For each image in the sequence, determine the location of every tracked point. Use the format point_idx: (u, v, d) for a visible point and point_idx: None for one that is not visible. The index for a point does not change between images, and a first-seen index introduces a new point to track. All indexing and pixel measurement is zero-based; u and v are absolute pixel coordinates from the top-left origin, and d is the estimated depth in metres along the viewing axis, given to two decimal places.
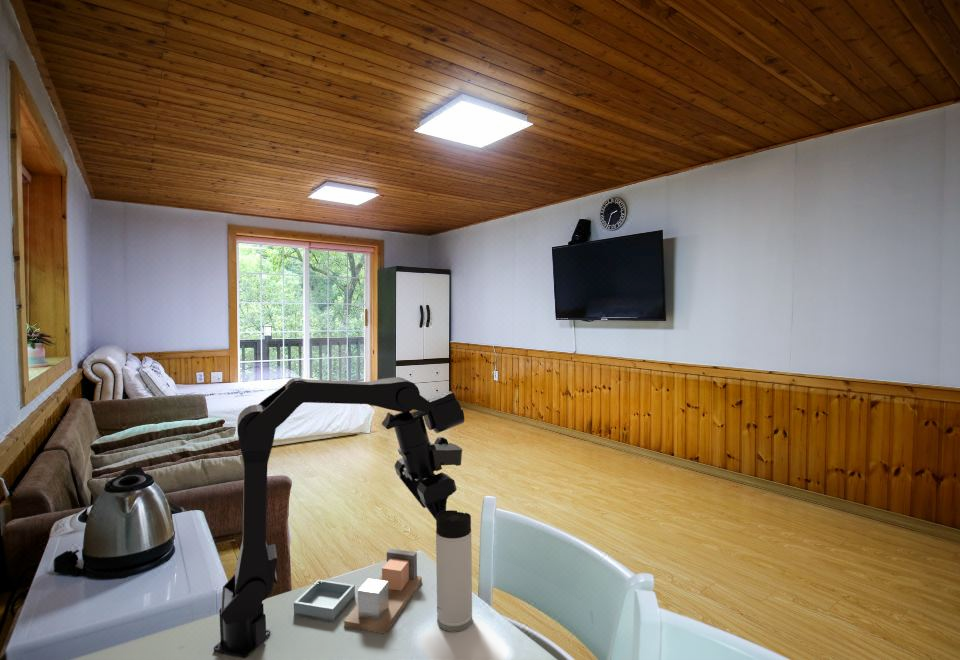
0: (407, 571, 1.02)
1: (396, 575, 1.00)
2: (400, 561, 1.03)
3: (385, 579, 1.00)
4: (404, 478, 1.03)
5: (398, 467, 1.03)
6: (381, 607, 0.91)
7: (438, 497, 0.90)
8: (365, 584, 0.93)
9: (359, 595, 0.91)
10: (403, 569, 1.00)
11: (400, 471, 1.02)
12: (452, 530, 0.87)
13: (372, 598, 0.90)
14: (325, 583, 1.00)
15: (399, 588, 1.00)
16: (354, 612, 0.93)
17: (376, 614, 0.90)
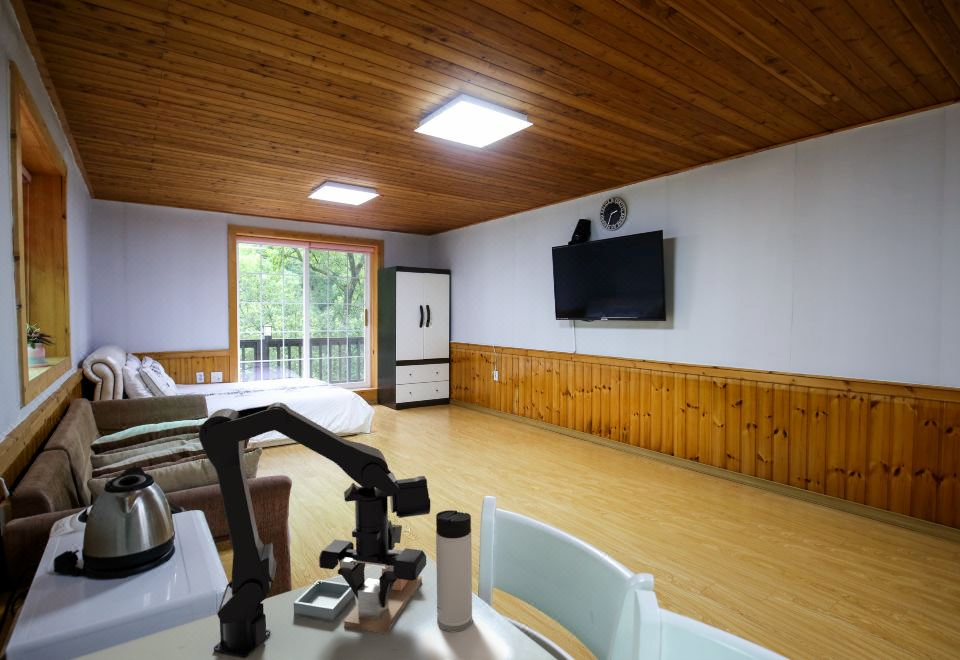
0: None
1: None
2: None
3: None
4: (348, 571, 0.91)
5: (332, 557, 0.91)
6: (381, 607, 0.91)
7: (419, 571, 0.89)
8: (365, 584, 0.93)
9: (359, 595, 0.91)
10: None
11: (337, 561, 0.91)
12: (452, 530, 0.87)
13: (372, 598, 0.90)
14: (325, 583, 1.00)
15: (399, 588, 1.00)
16: (354, 612, 0.93)
17: (376, 614, 0.90)
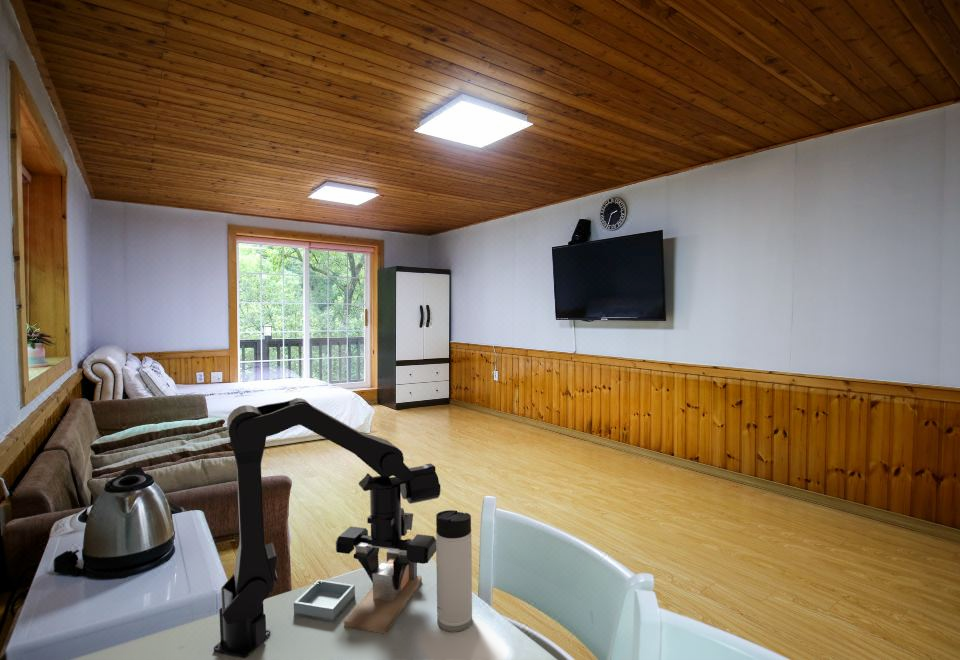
0: (407, 571, 1.02)
1: None
2: None
3: None
4: (364, 555, 0.96)
5: (348, 542, 0.96)
6: (394, 589, 0.97)
7: (431, 555, 0.95)
8: (379, 568, 0.98)
9: (374, 578, 0.96)
10: None
11: (353, 546, 0.96)
12: (452, 530, 0.87)
13: (386, 581, 0.96)
14: (325, 583, 1.00)
15: None
16: (354, 612, 0.93)
17: (390, 596, 0.96)
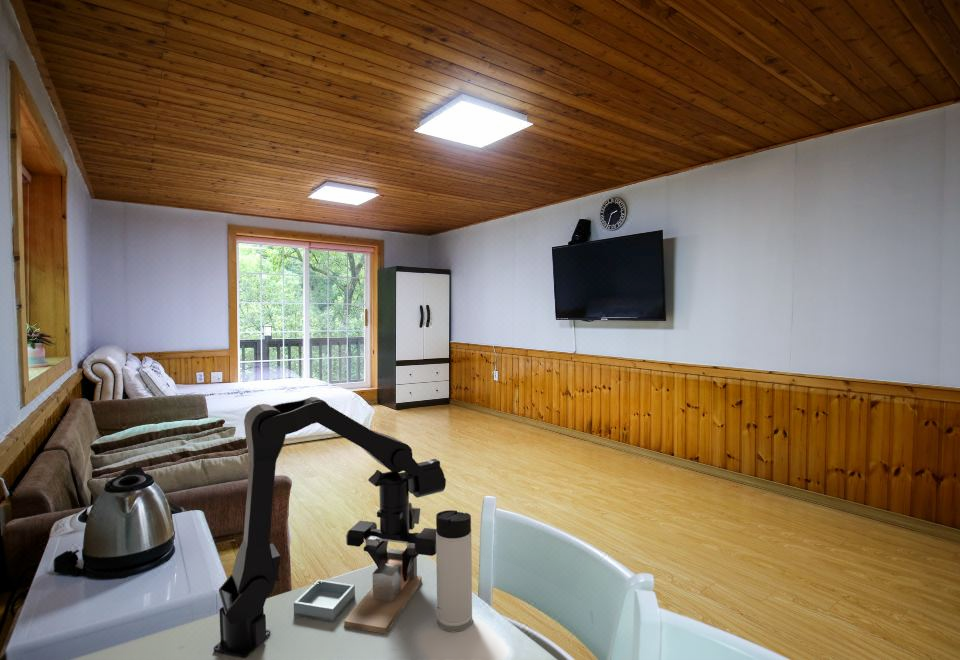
0: None
1: None
2: (400, 561, 1.03)
3: None
4: (373, 548, 1.00)
5: (358, 535, 1.00)
6: (394, 589, 0.97)
7: None
8: (379, 568, 0.98)
9: (374, 578, 0.96)
10: None
11: (363, 539, 1.00)
12: (452, 530, 0.87)
13: (386, 581, 0.96)
14: (325, 583, 1.00)
15: None
16: (354, 612, 0.93)
17: (390, 596, 0.96)
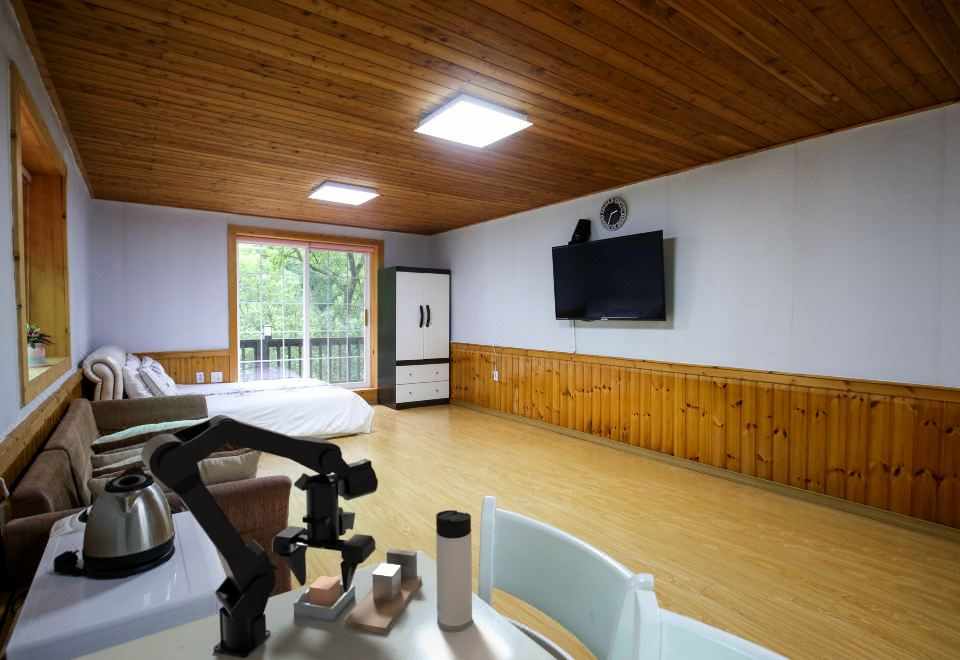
0: (338, 590, 0.97)
1: (324, 594, 0.94)
2: (330, 579, 0.97)
3: (313, 598, 0.95)
4: (288, 554, 0.95)
5: (284, 542, 0.94)
6: (394, 589, 0.97)
7: (367, 555, 0.93)
8: (379, 568, 0.98)
9: (374, 578, 0.96)
10: (331, 587, 0.95)
11: (288, 545, 0.94)
12: (452, 530, 0.87)
13: (386, 581, 0.96)
14: None
15: None
16: (354, 612, 0.93)
17: (390, 596, 0.96)
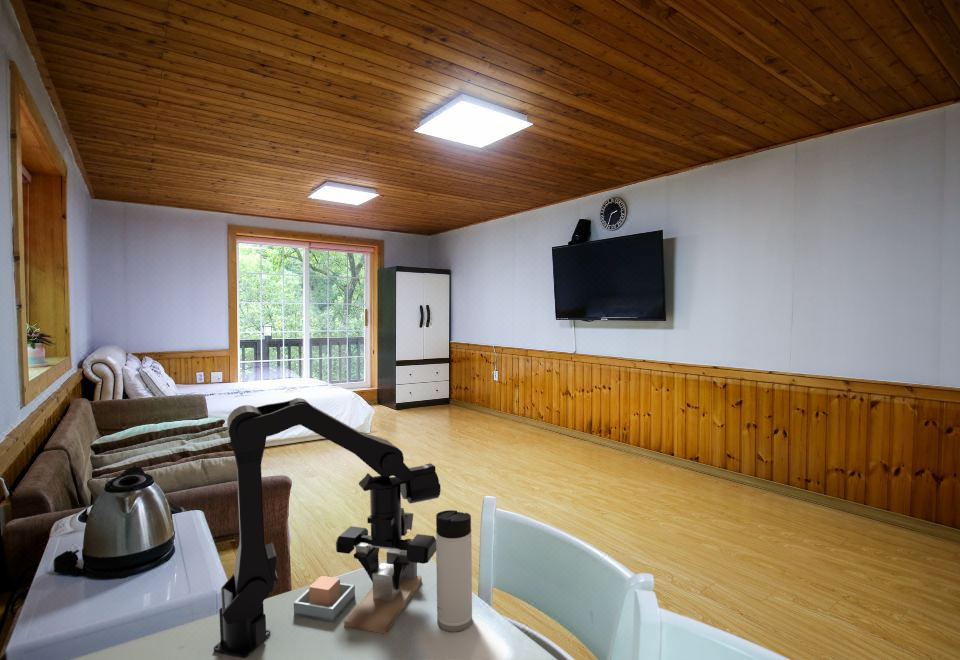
0: (338, 590, 0.97)
1: (324, 594, 0.94)
2: (330, 579, 0.97)
3: (313, 598, 0.95)
4: (364, 555, 0.96)
5: (348, 542, 0.96)
6: (394, 589, 0.97)
7: (431, 555, 0.95)
8: (379, 568, 0.98)
9: (374, 578, 0.96)
10: (331, 587, 0.95)
11: (353, 545, 0.96)
12: (452, 530, 0.87)
13: (386, 581, 0.96)
14: None
15: None
16: (354, 612, 0.93)
17: (390, 596, 0.96)
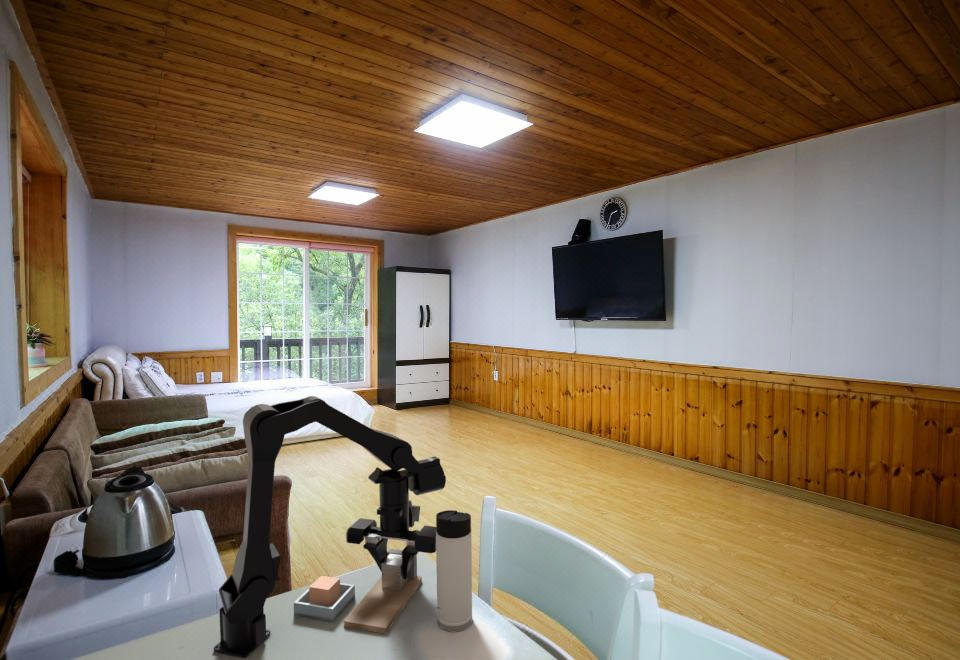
0: (338, 590, 0.97)
1: (324, 594, 0.94)
2: (330, 579, 0.97)
3: (313, 598, 0.95)
4: (373, 546, 1.00)
5: (358, 533, 1.00)
6: (402, 578, 1.00)
7: None
8: (388, 558, 1.02)
9: (382, 568, 1.00)
10: (331, 587, 0.95)
11: (363, 536, 1.00)
12: (452, 530, 0.87)
13: (394, 571, 0.99)
14: None
15: None
16: (354, 612, 0.93)
17: (398, 585, 0.99)
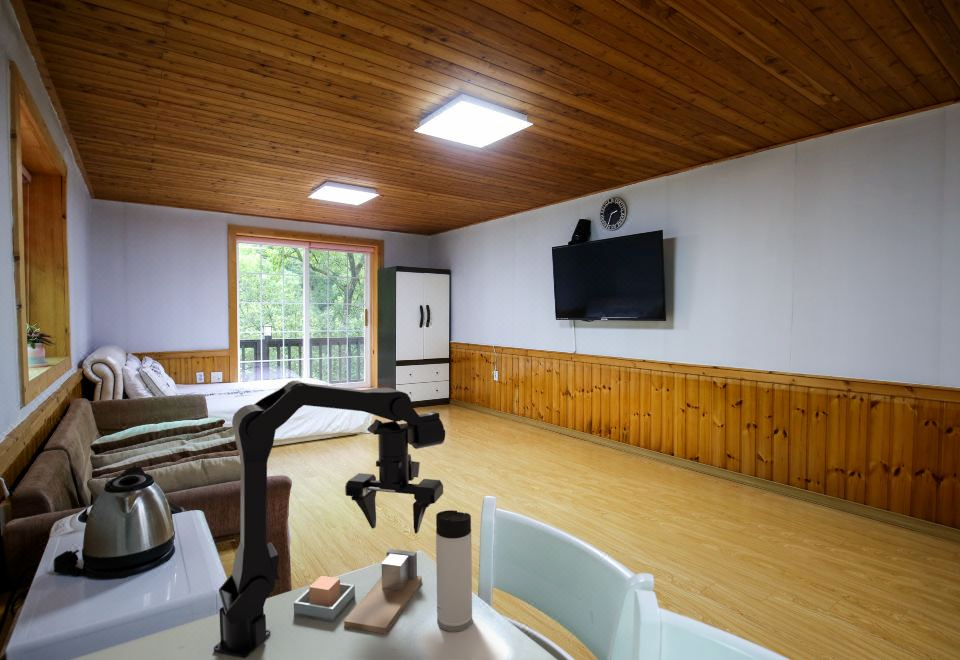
0: (338, 590, 0.97)
1: (324, 594, 0.94)
2: (330, 579, 0.97)
3: (313, 598, 0.95)
4: (361, 497, 1.00)
5: (357, 485, 1.00)
6: (402, 578, 1.00)
7: (437, 497, 0.98)
8: (388, 558, 1.02)
9: (383, 568, 1.00)
10: (331, 587, 0.95)
11: (362, 489, 0.99)
12: (452, 530, 0.87)
13: (394, 571, 0.99)
14: None
15: None
16: (354, 612, 0.93)
17: (398, 585, 0.99)
